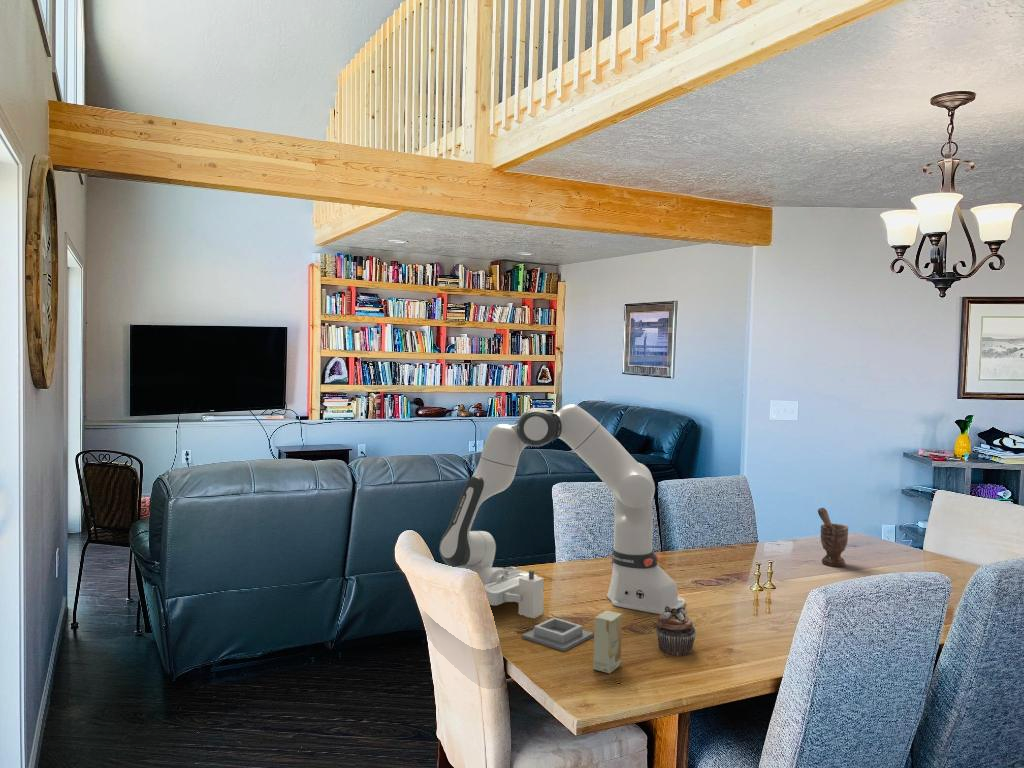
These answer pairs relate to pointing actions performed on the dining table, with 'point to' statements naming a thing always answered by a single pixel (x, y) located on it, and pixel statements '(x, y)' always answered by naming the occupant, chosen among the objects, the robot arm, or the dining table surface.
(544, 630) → the socket plate
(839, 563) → the mortar and pestle
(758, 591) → the dining table surface
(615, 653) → the skincare box
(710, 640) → the dining table surface
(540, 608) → the plug
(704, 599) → the dining table surface
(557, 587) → the dining table surface
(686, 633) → the cupcake
